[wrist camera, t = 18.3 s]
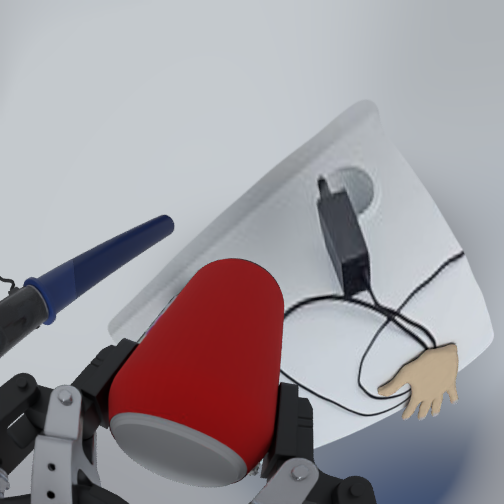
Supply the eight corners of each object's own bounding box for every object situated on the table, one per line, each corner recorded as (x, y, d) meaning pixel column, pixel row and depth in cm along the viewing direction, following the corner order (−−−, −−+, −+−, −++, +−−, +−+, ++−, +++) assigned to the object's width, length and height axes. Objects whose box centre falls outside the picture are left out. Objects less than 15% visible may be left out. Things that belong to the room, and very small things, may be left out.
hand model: (478, 343, 33) (451, 423, 36) (468, 332, 37) (445, 410, 41) (385, 360, 37) (370, 439, 40) (380, 346, 42) (367, 424, 45)
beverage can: (304, 291, 17) (312, 470, 6) (247, 350, 19) (207, 502, 8) (225, 232, 17) (112, 365, 5) (176, 301, 19) (79, 433, 7)
